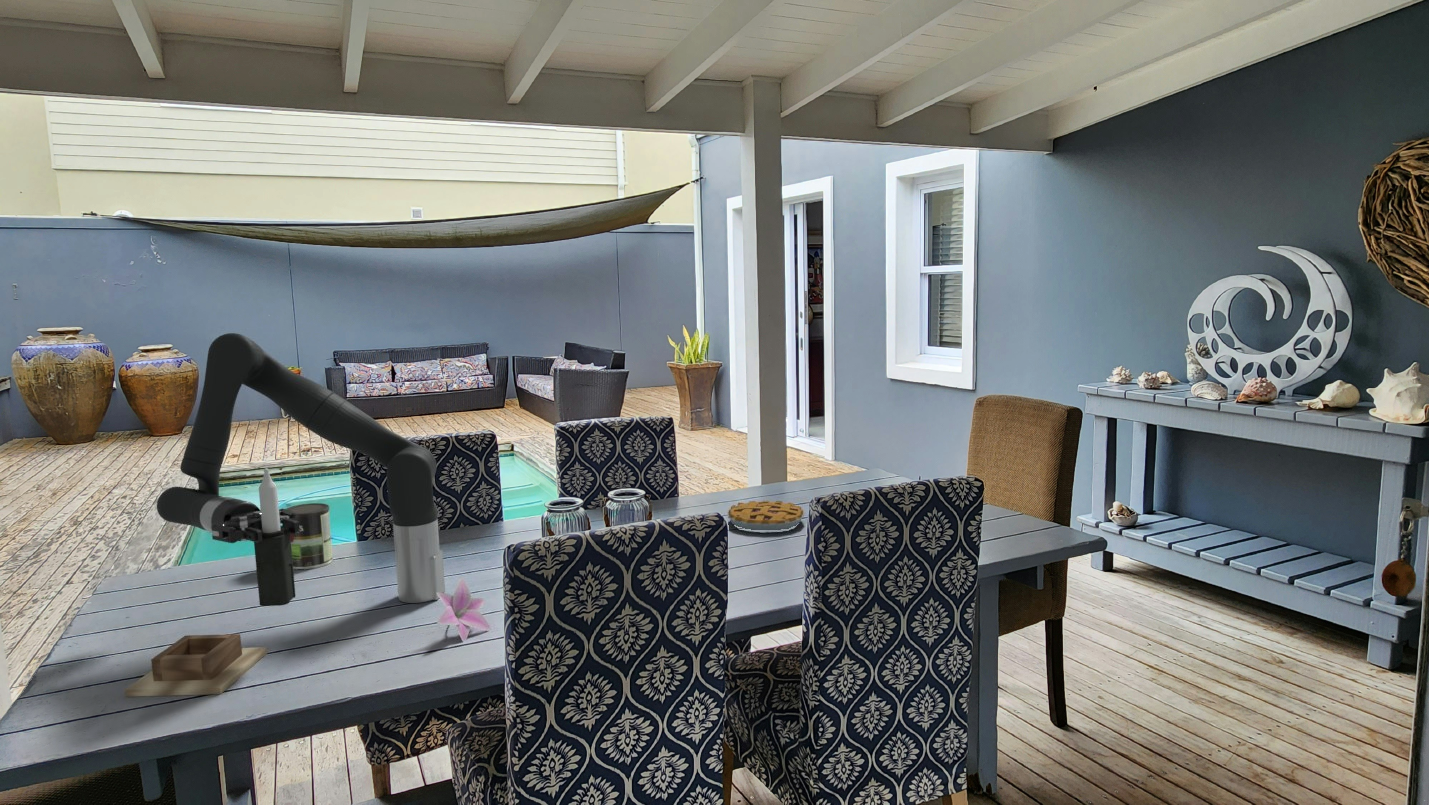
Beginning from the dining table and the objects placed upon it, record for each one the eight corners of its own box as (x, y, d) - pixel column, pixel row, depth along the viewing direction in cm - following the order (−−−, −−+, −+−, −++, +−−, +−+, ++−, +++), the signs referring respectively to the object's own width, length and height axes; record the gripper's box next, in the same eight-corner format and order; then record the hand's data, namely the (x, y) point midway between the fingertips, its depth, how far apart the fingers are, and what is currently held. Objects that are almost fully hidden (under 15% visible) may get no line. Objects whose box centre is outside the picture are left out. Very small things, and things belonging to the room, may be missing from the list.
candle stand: (267, 653, 161) (264, 627, 160) (220, 694, 145) (217, 665, 144) (181, 655, 161) (178, 629, 160) (125, 696, 145) (121, 667, 144)
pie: (721, 534, 232) (721, 516, 231) (732, 512, 253) (732, 496, 252) (802, 537, 228) (802, 519, 227) (806, 515, 249) (806, 498, 249)
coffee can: (306, 572, 206) (301, 515, 204) (279, 566, 211) (273, 511, 209) (342, 559, 215) (338, 505, 213) (315, 554, 220) (310, 501, 218)
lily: (428, 654, 162) (446, 615, 159) (415, 612, 171) (432, 574, 168) (486, 655, 169) (505, 618, 167) (471, 615, 178) (488, 579, 175)
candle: (269, 596, 160) (257, 465, 156) (297, 594, 160) (286, 464, 156) (257, 606, 155) (244, 471, 151) (286, 605, 155) (274, 471, 151)
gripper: (188, 507, 157) (236, 521, 147) (265, 490, 168) (314, 502, 159) (192, 547, 158) (240, 563, 149) (269, 527, 170) (317, 541, 160)
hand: (278, 531), depth 154 cm, fingers closed on candle, 6 cm apart
